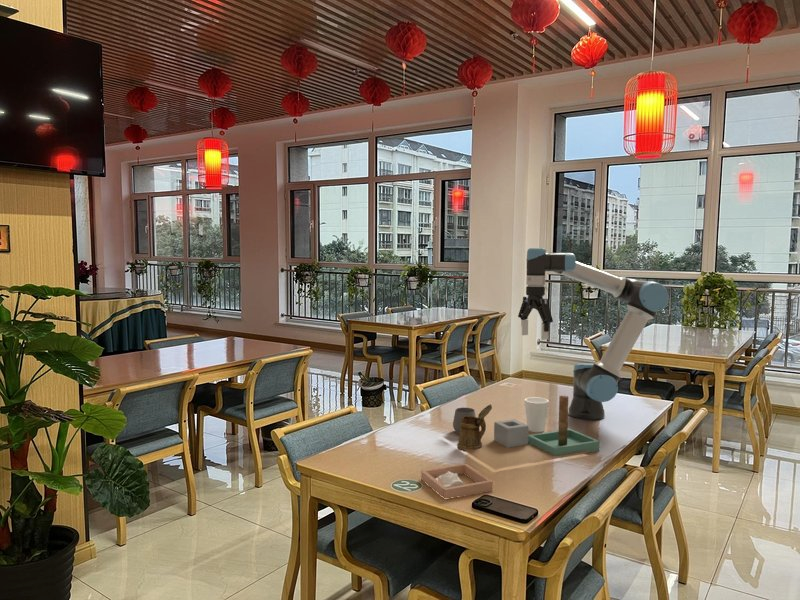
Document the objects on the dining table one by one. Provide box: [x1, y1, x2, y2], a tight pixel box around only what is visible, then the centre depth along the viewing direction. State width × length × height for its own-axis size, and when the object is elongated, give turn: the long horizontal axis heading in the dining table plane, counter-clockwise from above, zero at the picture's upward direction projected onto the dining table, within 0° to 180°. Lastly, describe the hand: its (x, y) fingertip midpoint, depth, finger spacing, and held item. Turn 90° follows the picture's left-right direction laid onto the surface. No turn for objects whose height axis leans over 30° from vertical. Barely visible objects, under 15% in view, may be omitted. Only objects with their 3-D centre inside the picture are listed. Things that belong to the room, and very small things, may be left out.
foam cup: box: [524, 396, 550, 433], centre depth 232 cm, size 10×9×13 cm
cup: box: [452, 407, 477, 435], centre depth 228 cm, size 10×9×10 cm
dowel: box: [558, 395, 569, 446], centre depth 213 cm, size 3×3×18 cm
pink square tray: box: [420, 462, 494, 499], centre depth 179 cm, size 16×16×3 cm
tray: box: [528, 428, 601, 458], centre depth 214 cm, size 20×16×4 cm
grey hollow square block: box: [493, 418, 529, 448], centre depth 216 cm, size 9×9×8 cm
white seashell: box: [435, 471, 465, 488], centre depth 179 cm, size 10×4×10 cm
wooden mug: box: [456, 404, 493, 452], centre depth 211 cm, size 9×14×18 cm, turn 47°
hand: (534, 337), depth 239 cm, fingers open, 13 cm apart
